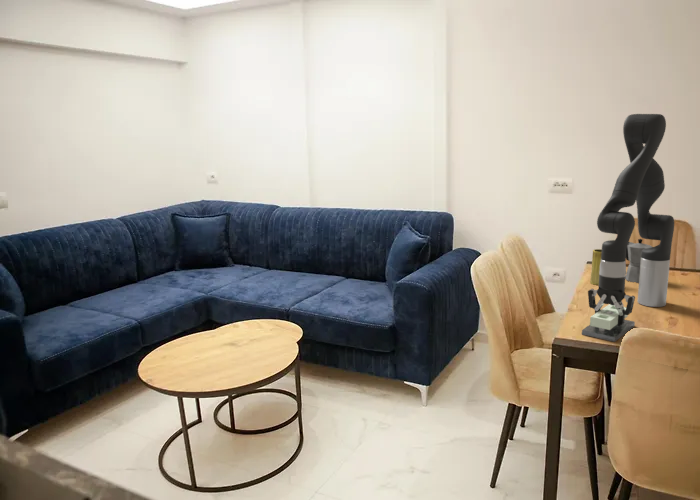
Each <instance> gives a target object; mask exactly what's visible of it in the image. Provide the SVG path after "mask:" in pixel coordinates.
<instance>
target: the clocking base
mask: <svg viewBox="0 0 700 500" xmlns="http://www.w3.org/2000/svg"><path fill="white" fill-rule="evenodd" d="M606 313H607V314H613V315H614V313H613V312H610V311H607V312H606ZM635 325H636V321H633V320H627V319H624V324H623V325H622V326H618V324H617V325H616V326H614V327H613V328H612V329H610V330H607V329H603V328H598V327H594V326H590V324H589V325H587V326H586V327H585V328H582V329H581V335H583V336H586V337H592V338H596V339H599V340H605V341H607V342H608V341H609V342H614V343H615V342H617V341H618V340H619V339H620V338H622V337H623V336H624V335H625V334H627V333H628V332H629V331H630V330H632V329H633V328H634V327H635ZM627 331H628V332H627Z"/></svg>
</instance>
